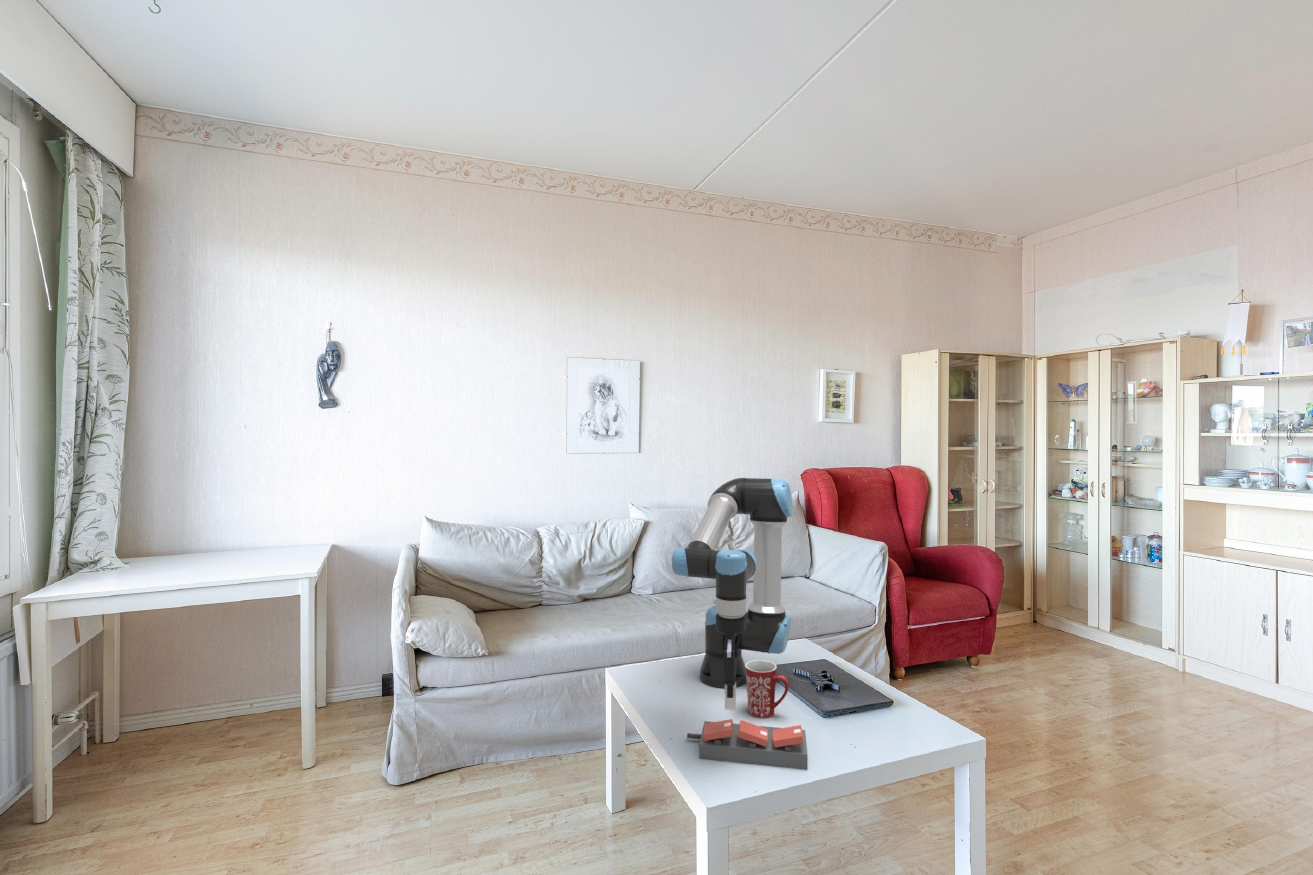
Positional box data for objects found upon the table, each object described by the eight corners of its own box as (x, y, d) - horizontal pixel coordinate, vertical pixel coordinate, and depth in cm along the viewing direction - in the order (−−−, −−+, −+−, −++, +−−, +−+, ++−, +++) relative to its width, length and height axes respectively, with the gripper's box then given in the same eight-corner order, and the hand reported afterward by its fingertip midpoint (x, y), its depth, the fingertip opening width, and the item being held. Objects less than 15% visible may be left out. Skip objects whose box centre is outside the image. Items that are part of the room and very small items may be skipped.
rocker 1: (707, 729, 159) (705, 723, 159) (733, 724, 158) (732, 718, 158) (704, 740, 154) (702, 734, 154) (732, 736, 152) (730, 729, 152)
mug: (739, 714, 176) (739, 667, 176) (753, 702, 184) (753, 656, 183) (780, 726, 169) (781, 677, 169) (793, 713, 177) (794, 666, 176)
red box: (738, 725, 158) (740, 719, 157) (766, 735, 156) (767, 728, 156) (737, 736, 152) (739, 730, 152) (765, 746, 151) (767, 740, 151)
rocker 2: (774, 735, 156) (773, 729, 156) (802, 731, 155) (800, 724, 155) (774, 747, 150) (772, 740, 151) (803, 742, 149) (801, 735, 149)
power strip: (689, 732, 166) (689, 715, 166) (805, 743, 160) (805, 725, 160) (682, 756, 154) (682, 738, 154) (807, 769, 148) (807, 750, 148)
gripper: (718, 605, 161) (717, 695, 162) (713, 621, 149) (712, 719, 149) (747, 607, 160) (746, 698, 160) (744, 623, 147) (744, 721, 148)
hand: (730, 708), depth 155 cm, fingers closed
